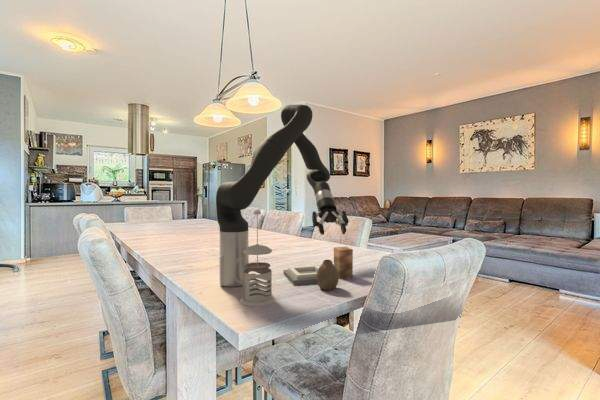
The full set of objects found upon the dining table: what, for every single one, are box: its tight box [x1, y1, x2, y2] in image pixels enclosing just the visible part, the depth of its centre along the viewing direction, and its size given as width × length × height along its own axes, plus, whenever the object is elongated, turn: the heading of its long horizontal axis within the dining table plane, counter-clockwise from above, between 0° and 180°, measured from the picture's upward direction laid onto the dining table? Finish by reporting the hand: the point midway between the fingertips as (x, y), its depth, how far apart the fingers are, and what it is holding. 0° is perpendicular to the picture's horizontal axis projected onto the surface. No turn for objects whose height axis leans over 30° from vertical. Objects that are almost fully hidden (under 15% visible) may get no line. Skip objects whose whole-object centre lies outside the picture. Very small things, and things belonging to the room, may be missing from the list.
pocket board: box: [283, 265, 320, 286], centre depth 108 cm, size 14×14×3 cm
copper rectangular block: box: [333, 246, 354, 280], centre depth 110 cm, size 5×5×10 cm
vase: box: [316, 259, 340, 291], centre depth 96 cm, size 7×7×9 cm
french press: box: [233, 209, 276, 307], centre depth 85 cm, size 10×12×25 cm
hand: (333, 233), depth 120 cm, fingers open, 8 cm apart
